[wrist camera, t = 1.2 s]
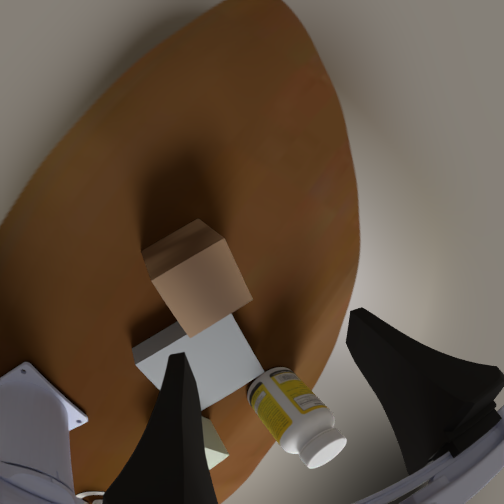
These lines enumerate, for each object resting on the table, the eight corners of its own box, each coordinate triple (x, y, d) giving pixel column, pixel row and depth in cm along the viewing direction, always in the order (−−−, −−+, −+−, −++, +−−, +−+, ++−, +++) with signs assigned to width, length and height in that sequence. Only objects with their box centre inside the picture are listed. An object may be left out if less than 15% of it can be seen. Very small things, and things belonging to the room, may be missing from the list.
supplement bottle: (256, 412, 30) (306, 479, 21) (237, 387, 27) (292, 465, 19) (298, 384, 31) (355, 444, 23) (285, 355, 29) (351, 422, 20)
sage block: (181, 442, 27) (197, 478, 23) (149, 429, 24) (163, 469, 20) (210, 419, 27) (229, 455, 23) (179, 405, 25) (196, 444, 21)
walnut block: (171, 300, 21) (189, 338, 17) (140, 250, 19) (151, 280, 15) (223, 269, 23) (252, 299, 18) (198, 218, 20) (224, 238, 16)
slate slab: (180, 399, 25) (188, 417, 23) (131, 345, 21) (135, 364, 19) (252, 356, 27) (264, 371, 25) (216, 293, 23) (228, 308, 21)
